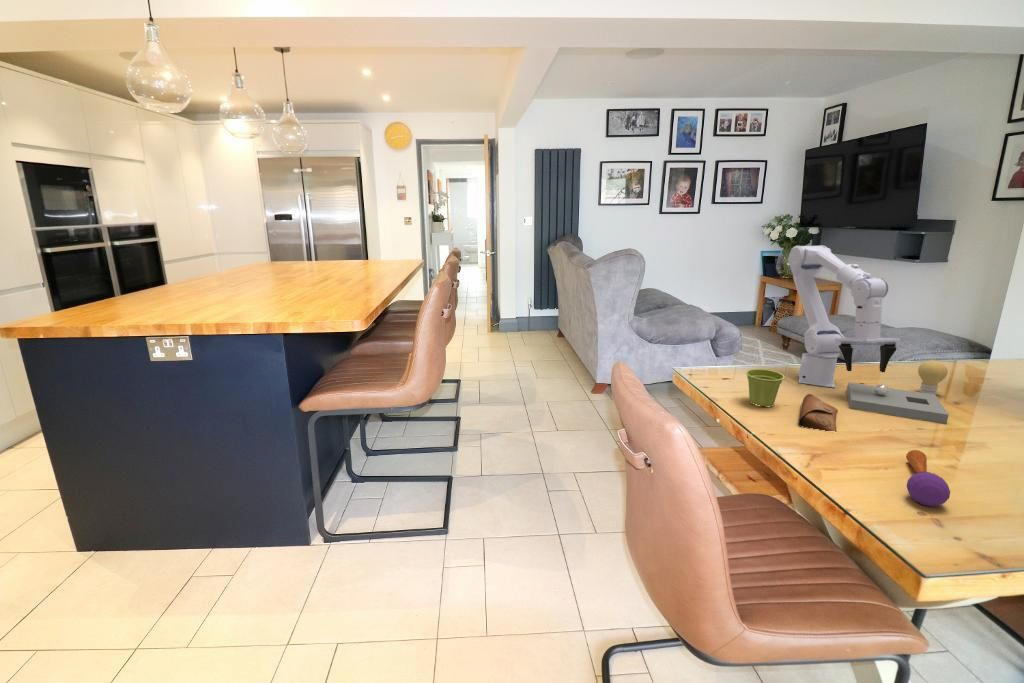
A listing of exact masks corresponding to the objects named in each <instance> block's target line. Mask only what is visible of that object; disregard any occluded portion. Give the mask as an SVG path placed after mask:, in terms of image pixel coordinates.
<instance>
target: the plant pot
mask: <svg viewBox="0 0 1024 683" xmlns="http://www.w3.org/2000/svg"><path fill="white" fill-rule="evenodd" d="M745 374H746V376H747V377H746V378H747V380H748V396H749V398H748V400H750V401H749V403H750V402H752V403H754V404H757V405H760V407H764V406H772V405H773V406H774V405H775V402H776V399H777V395H778V392H779V389H780V385H781V384H782V382H783V381H784V379H785V375H784V374H782V373H781V372H779V371H775V370H772V369H771V370H770V369H762V368H752V369H748V370H747V371H745ZM773 406H772V407H773Z"/></svg>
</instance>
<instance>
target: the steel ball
mask: <svg viewBox="0 0 1024 683" xmlns="http://www.w3.org/2000/svg"><path fill="white" fill-rule="evenodd" d="M874 386H875V388H874V391H875V393H876V394H878V395H881V396H883V395H886V394H887V393H888V392H889V387H888V385H886V384H884V383H877V385H874Z"/></svg>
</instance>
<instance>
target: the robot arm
mask: <svg viewBox="0 0 1024 683" xmlns="http://www.w3.org/2000/svg"><path fill="white" fill-rule="evenodd" d="M787 261H788V262H787V263H788V266H789V268H790V272H791V274H792V279H793V281H794V282H793V283H794V284H795V288H796V291H797V294H798V297H799V300H800V303H801V306H802V309H803V311H804V316H805V317H806V321H807V323H808V326H809V328H808V329H806V331H804V333H803V337H804V348H805V350H806V352H803V353H802V355H801V361H800V368H799V369H798V373H797V375H798V383H800V384H806V385H812V386H820V387H827V388H833V389H834V388H836V386H835V372H836V366H837V360H838V358H839V357H840V356H841V354H842V356H843V359H844V363H845V367H846V371H847V372H852V368H853V362H852V361H853V360H852V358H853V352H854V348H853V347H852V346H879V352H880V353H879V354H880V355H879V357H880V359H879V360H880V361H879V372H881V373H886V370H887V366H888V364H889V362H890V360H891V358H892V356H894V354H895V352H896V351H897V347H901V341H902V340H901V338H898V337H894V338H893V337H881V327H882V311H883V310H882V308H883V298H885V297H886V296H887V295H888V293H889V288H890V287H889V283H888V282H887V281H886V280H885V278H884V277H874V276H872V274H871V273H869V272H866V271H865V270H863V269H861V268H860V265H859V264H856V263H854V264H853V263H849V264H846V263H845V262H844V261H842V260H841V259H840V258H839V257H837V256H836V255H835V254H833V253H832V249H831V248H829V247H827V246H826V245H822V244H821V245H819V244H818V245H795V246H793V247H792V248H791V249H790V252H789V255H788V258H787ZM823 268H825V269H827V270H829V271H830V272H832V273H833V274H835V275H836V280H837V281H838V282H839V283H841V284H842V285H843V286H845V287H846V288H847V289H849V290H850V294H851V296H852V298H853V304H854V307H855V318H854V320H855V321H854V337H849V336H848V337H845V336H844V335H843V334H842V333H841V331H840V327H838V326H836V325H835V324H833V323H832V322H830V319H829V317H828V314H827V311H826V309H825V305H824V303H823V301H822V298H821V294H820V292H819V289H818V285H817V283H816V280H815V276H817V275H819V273H820V272H821V270H822V269H823Z"/></svg>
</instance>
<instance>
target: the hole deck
mask: <svg viewBox="0 0 1024 683" xmlns="http://www.w3.org/2000/svg"><path fill="white" fill-rule="evenodd" d="M875 386H876V385H870V384H869V385H868V384H863V383H855V382H847V386H846V394H847V399H848V403H849V404H848V405H849V409H852V410H858V411H864V412H869V411H870V413H875V412H876V413H877V414H881V413H882V414H883V415H889V416H894V417H900V418H908V419H912V420H913V419H915V420H920V421H926V422H931V423H932V422H933V423H940V424H943V425H944V424H945V425H947V423H948V421H949V420H948V419H949V413H948V412H947V410H946V409H945V407H944V405H943V404H942V403H941V401H940V400H939V398H938V396H937V394H928V393H921V392H920V391H914V390H906V389H905V390H904V389H898V388H891V387H890V388H889V387H888V388H889V392H888V393H887V394H886V395H883V396H881V395H878V394H876V393H875V391H874V388H875Z"/></svg>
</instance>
